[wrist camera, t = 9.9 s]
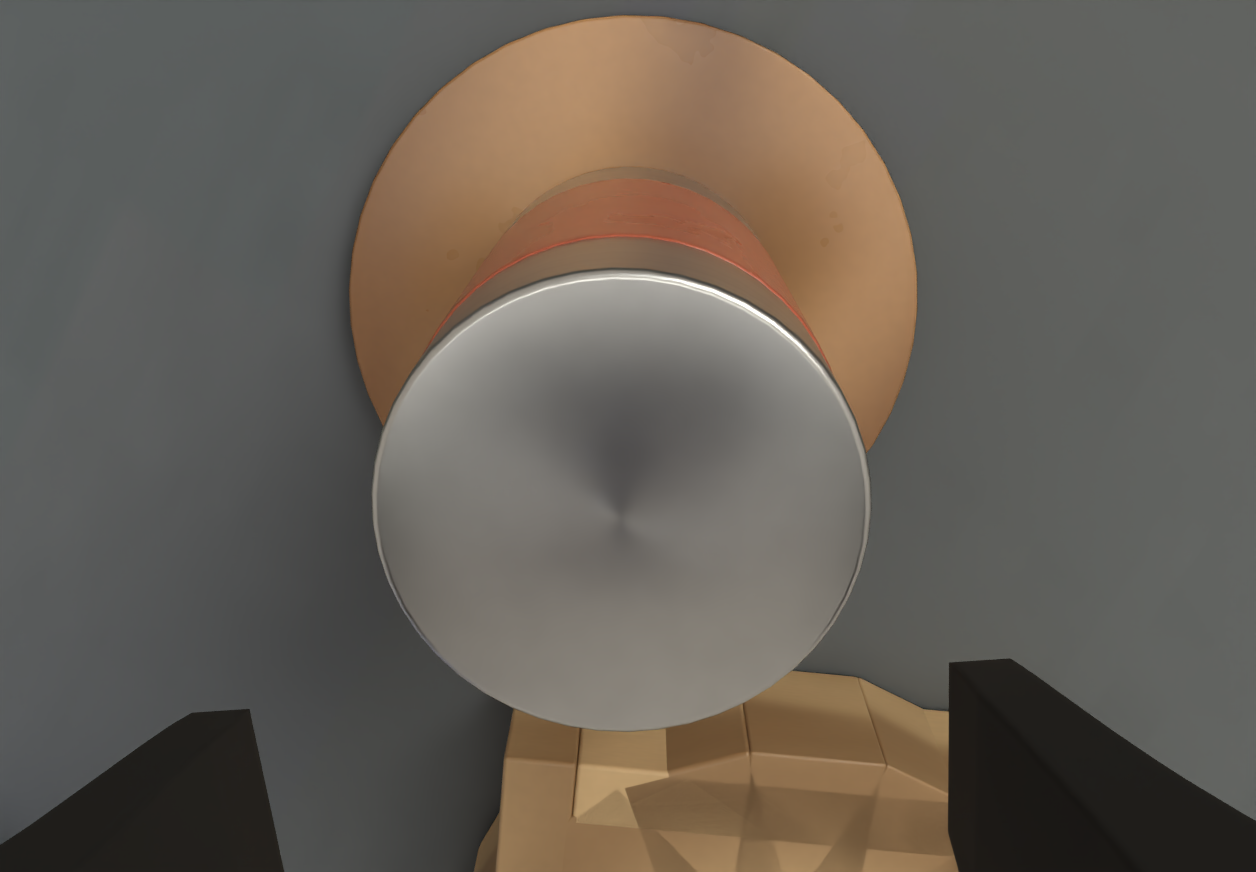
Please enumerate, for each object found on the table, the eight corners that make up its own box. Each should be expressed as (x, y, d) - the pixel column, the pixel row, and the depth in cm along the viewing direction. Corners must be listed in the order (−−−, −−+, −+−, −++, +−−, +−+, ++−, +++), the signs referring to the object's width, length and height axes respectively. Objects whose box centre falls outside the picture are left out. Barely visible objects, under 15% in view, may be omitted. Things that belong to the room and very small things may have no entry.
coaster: (348, 538, 22) (342, 548, 22) (360, -16, 19) (354, -16, 19) (863, 588, 23) (866, 597, 22) (962, 48, 19) (968, 49, 19)
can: (472, 442, 21) (359, 714, 13) (489, 149, 20) (373, 239, 11) (758, 470, 22) (834, 758, 13) (800, 180, 20) (918, 294, 11)
